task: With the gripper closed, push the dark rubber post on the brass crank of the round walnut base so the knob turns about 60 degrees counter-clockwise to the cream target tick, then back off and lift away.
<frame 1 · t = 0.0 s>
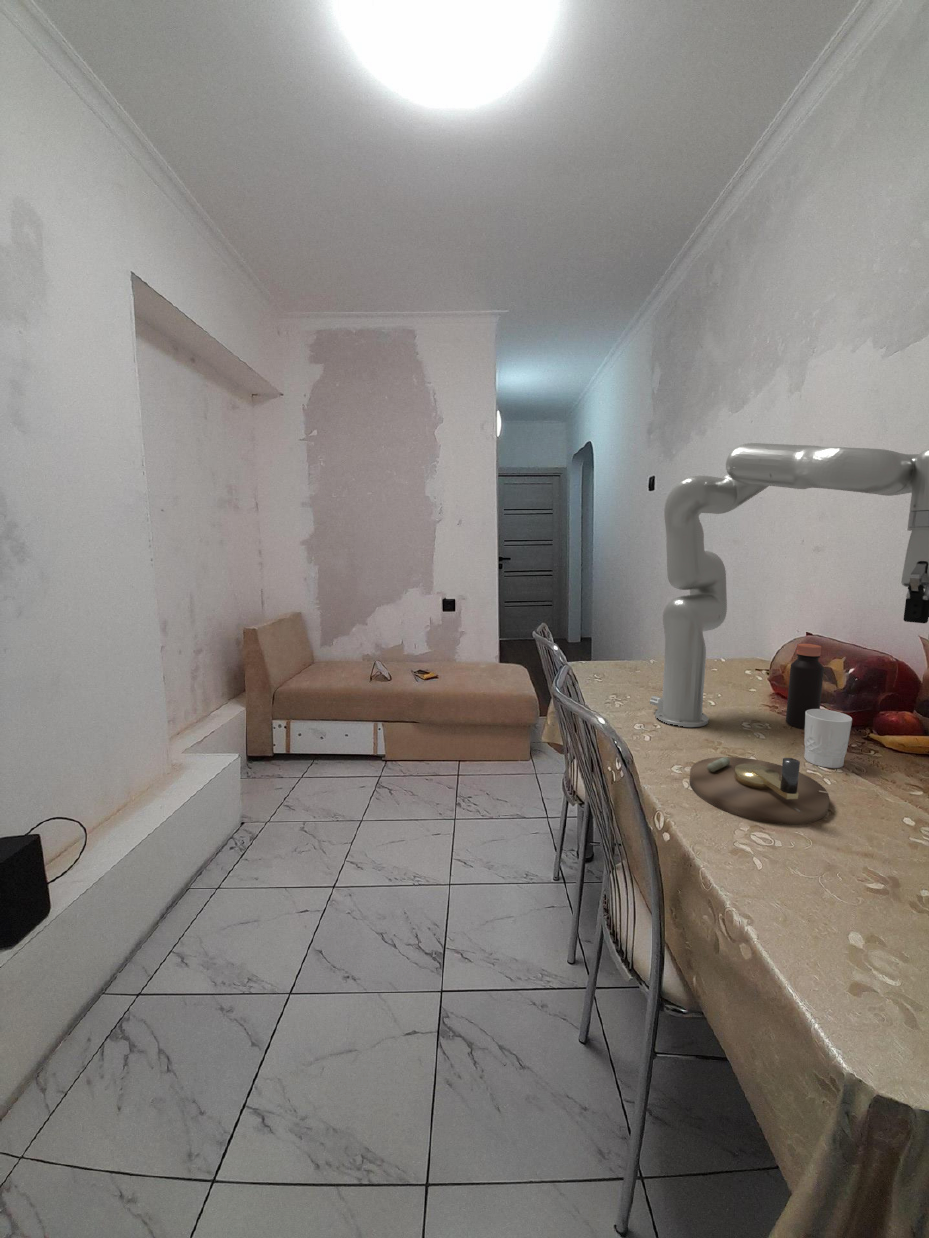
hand: (923, 619, 94), 31 cm above the table, tool pointing down, fingers open, 9 cm apart
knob: (768, 767, 92), point 6 cm above the table, hinge at 0.0°
base plate: (755, 791, 96), on the table
white cup: (823, 762, 109), on the table
bottle: (801, 725, 130), on the table
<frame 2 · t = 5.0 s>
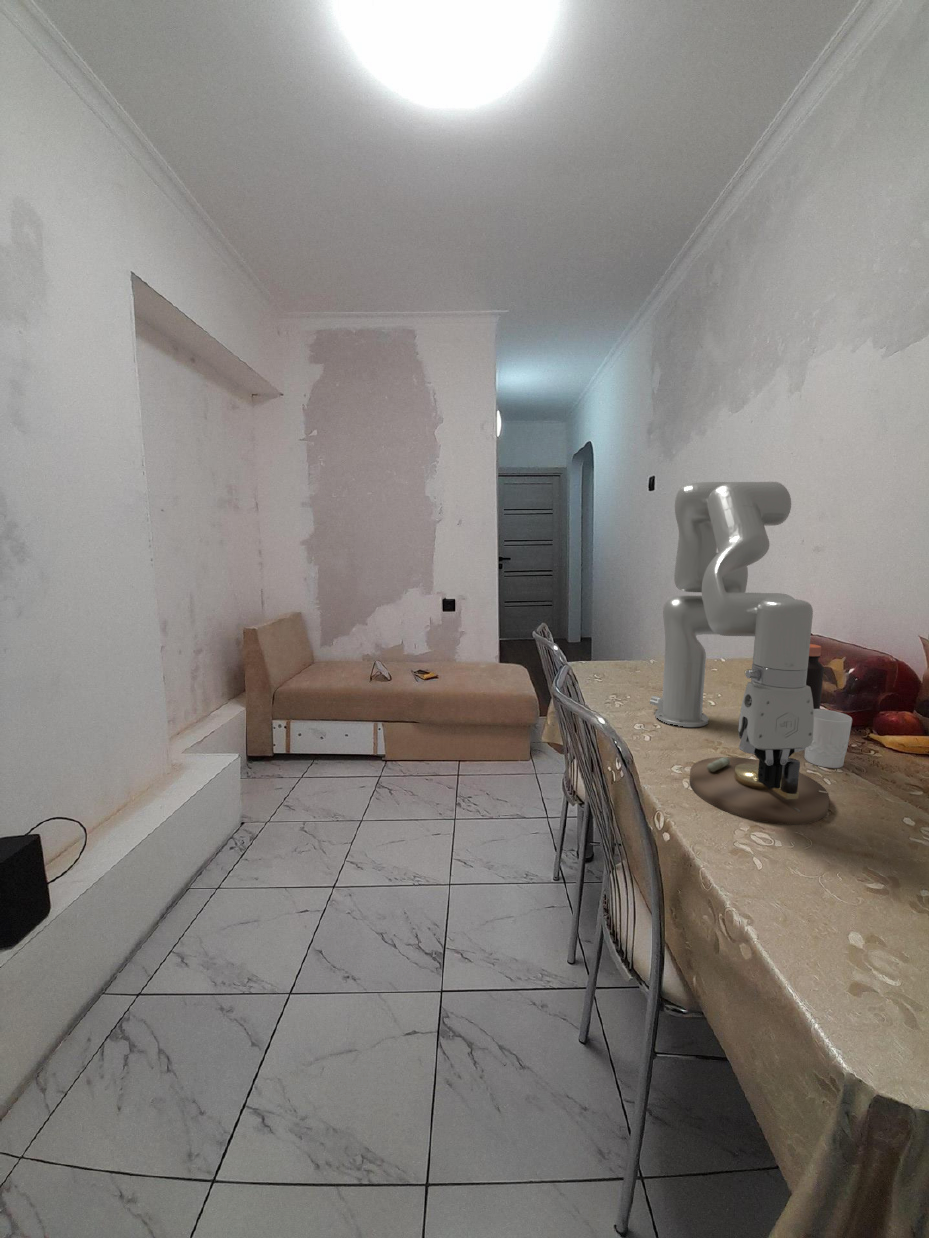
hand: (768, 784, 87), 6 cm above the table, tool pointing down, fingers closed
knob: (768, 767, 92), point 6 cm above the table, hinge at 0.3°, touching gripper
everything else where it was.
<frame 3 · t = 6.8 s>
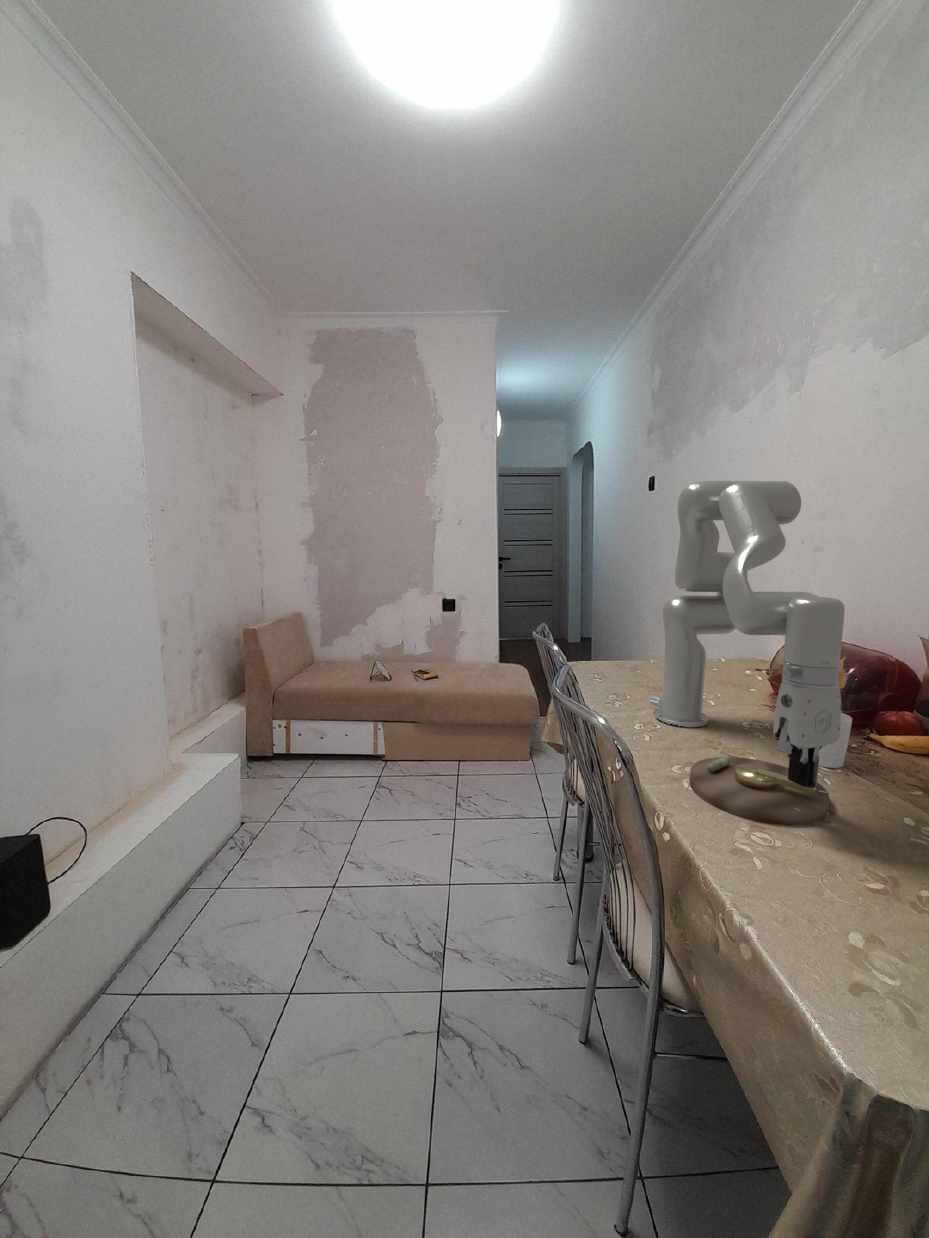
hand: (800, 782, 87), 6 cm above the table, tool pointing down, fingers closed
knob: (775, 766, 93), point 6 cm above the table, hinge at 36.6°, touching gripper
everything else where it was.
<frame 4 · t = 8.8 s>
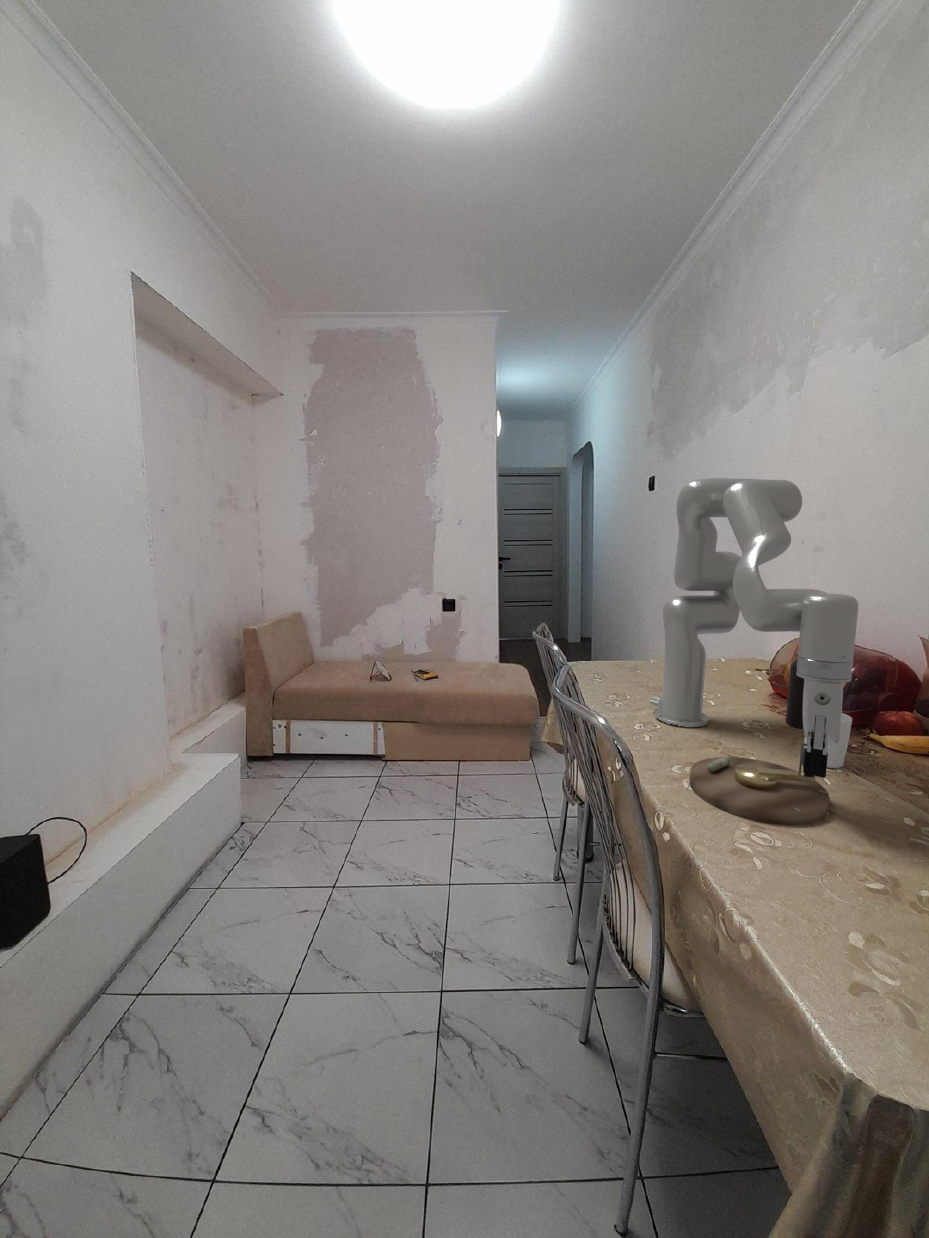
hand: (814, 773, 90), 6 cm above the table, tool pointing down, fingers closed
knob: (775, 762, 95), point 6 cm above the table, hinge at 70.0°, touching gripper
everything else where it was.
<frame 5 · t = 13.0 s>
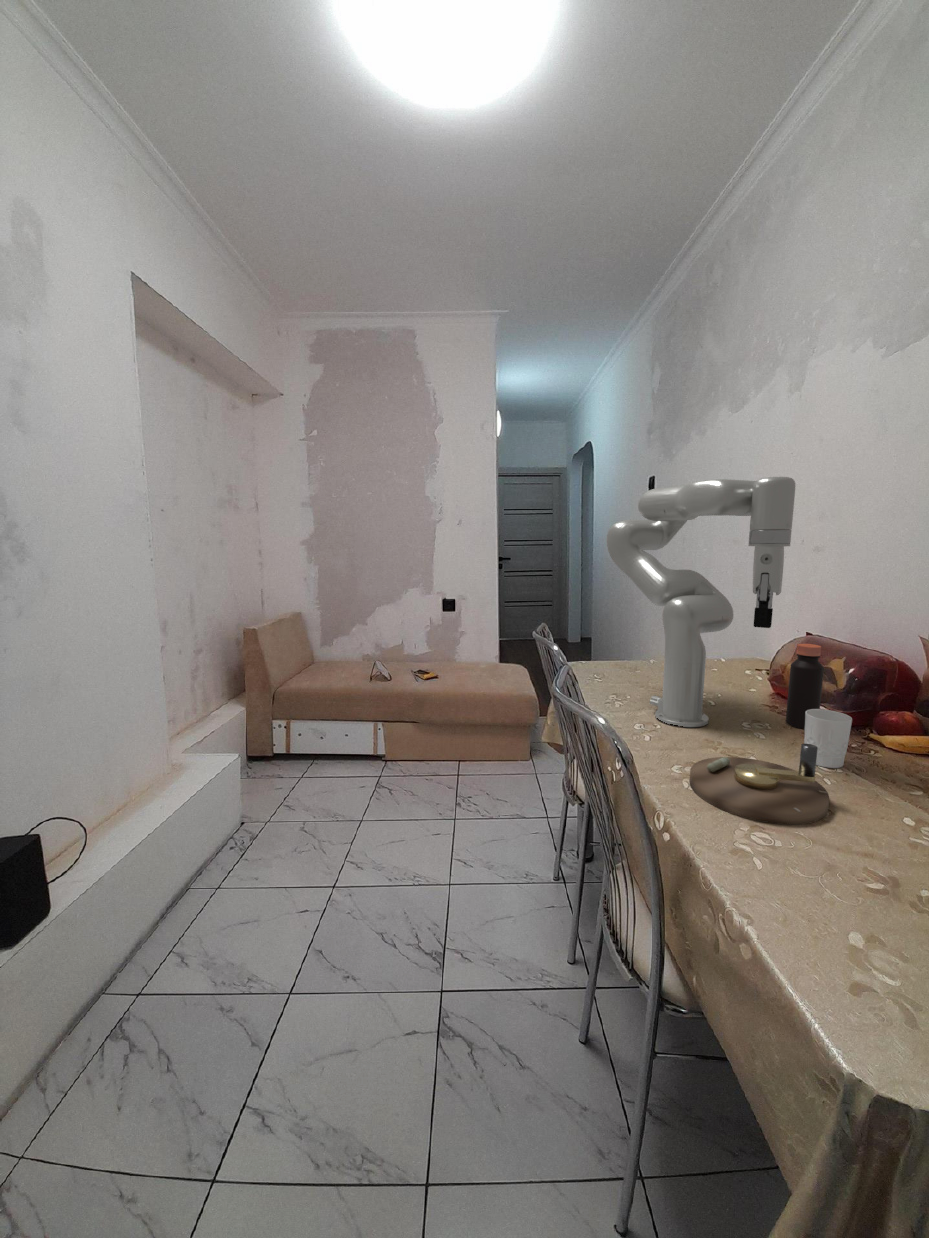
hand: (762, 626, 112), 27 cm above the table, tool pointing down, fingers closed
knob: (775, 762, 95), point 6 cm above the table, hinge at 70.0°
everything else where it was.
at the end: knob at +70° (first picture: +0°); bottle moved 0.2 cm from its start; white cup moved 0.2 cm from its start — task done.
